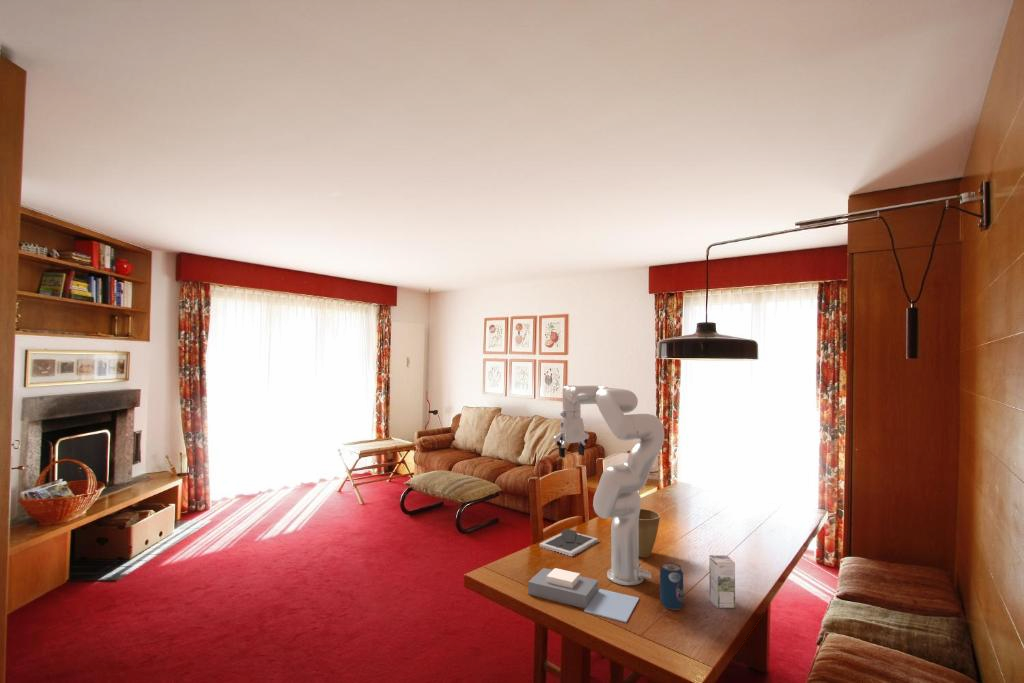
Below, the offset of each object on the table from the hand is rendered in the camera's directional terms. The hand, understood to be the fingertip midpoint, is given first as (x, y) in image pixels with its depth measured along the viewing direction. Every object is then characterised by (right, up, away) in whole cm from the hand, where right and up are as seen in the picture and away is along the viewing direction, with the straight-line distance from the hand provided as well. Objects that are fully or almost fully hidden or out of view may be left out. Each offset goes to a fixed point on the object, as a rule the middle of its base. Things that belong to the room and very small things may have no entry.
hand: (571, 456), depth 199 cm
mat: (+6, -35, -50) cm, 61 cm away
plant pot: (+26, -37, -10) cm, 47 cm away
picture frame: (-1, -38, +1) cm, 38 cm away
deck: (-8, -35, -42) cm, 55 cm away
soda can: (+25, -35, -50) cm, 66 cm away
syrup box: (+41, -35, -49) cm, 73 cm away
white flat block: (-8, -31, -42) cm, 53 cm away
